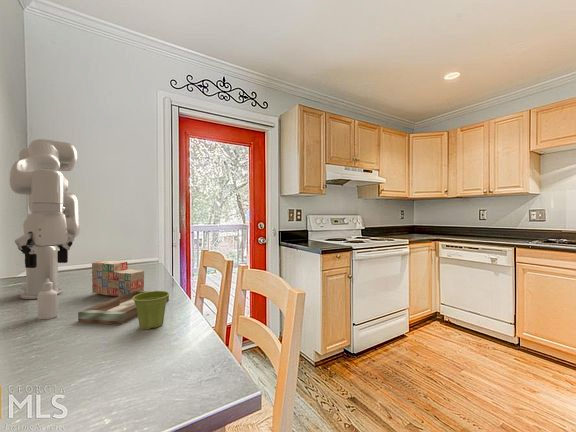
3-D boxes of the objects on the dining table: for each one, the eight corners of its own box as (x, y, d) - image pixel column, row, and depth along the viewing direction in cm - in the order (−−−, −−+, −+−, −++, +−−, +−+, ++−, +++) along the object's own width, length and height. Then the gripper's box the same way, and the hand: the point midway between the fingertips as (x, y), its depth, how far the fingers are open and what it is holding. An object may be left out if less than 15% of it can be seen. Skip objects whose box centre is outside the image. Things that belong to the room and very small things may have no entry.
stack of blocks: (144, 294, 109) (144, 262, 109) (130, 298, 103) (130, 265, 103) (106, 289, 117) (106, 259, 117) (91, 293, 111) (91, 262, 111)
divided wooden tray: (78, 322, 82) (78, 311, 82) (134, 298, 106) (134, 290, 106) (120, 324, 80) (120, 314, 80) (168, 300, 104) (168, 292, 104)
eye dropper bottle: (55, 313, 90) (55, 276, 90) (57, 317, 86) (57, 278, 86) (37, 317, 87) (37, 278, 87) (38, 321, 83) (38, 281, 83)
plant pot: (155, 333, 74) (155, 300, 74) (124, 330, 76) (124, 298, 76) (175, 320, 83) (175, 291, 84) (148, 318, 85) (148, 290, 85)
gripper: (63, 211, 96) (63, 261, 95) (5, 208, 78) (5, 269, 78) (82, 210, 94) (82, 261, 94) (27, 208, 77) (27, 270, 77)
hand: (47, 265), depth 86 cm, fingers open, 9 cm apart
